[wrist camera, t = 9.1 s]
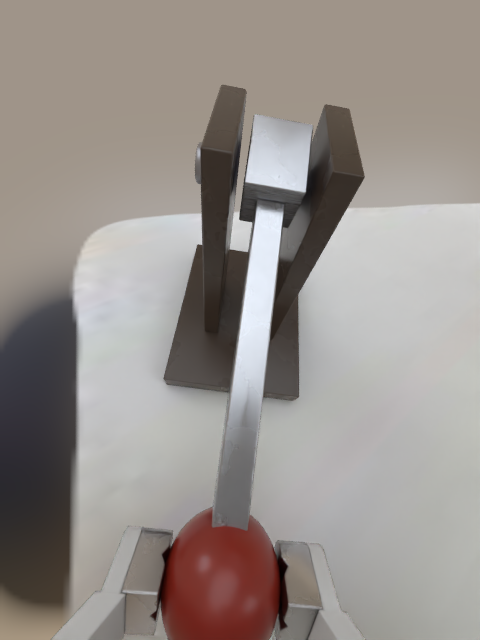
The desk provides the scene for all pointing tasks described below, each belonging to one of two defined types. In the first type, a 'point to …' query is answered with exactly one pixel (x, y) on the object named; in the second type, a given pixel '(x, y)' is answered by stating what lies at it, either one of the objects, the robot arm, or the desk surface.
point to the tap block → (230, 265)
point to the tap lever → (242, 423)
